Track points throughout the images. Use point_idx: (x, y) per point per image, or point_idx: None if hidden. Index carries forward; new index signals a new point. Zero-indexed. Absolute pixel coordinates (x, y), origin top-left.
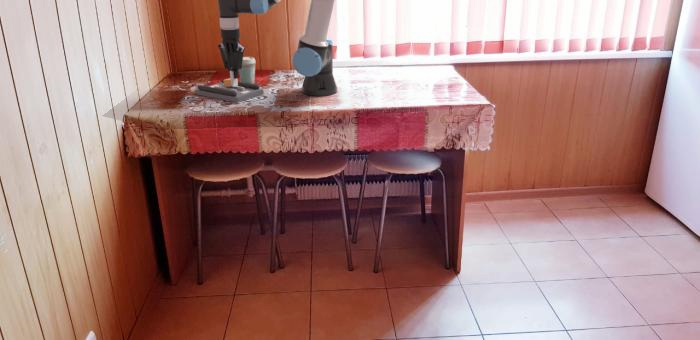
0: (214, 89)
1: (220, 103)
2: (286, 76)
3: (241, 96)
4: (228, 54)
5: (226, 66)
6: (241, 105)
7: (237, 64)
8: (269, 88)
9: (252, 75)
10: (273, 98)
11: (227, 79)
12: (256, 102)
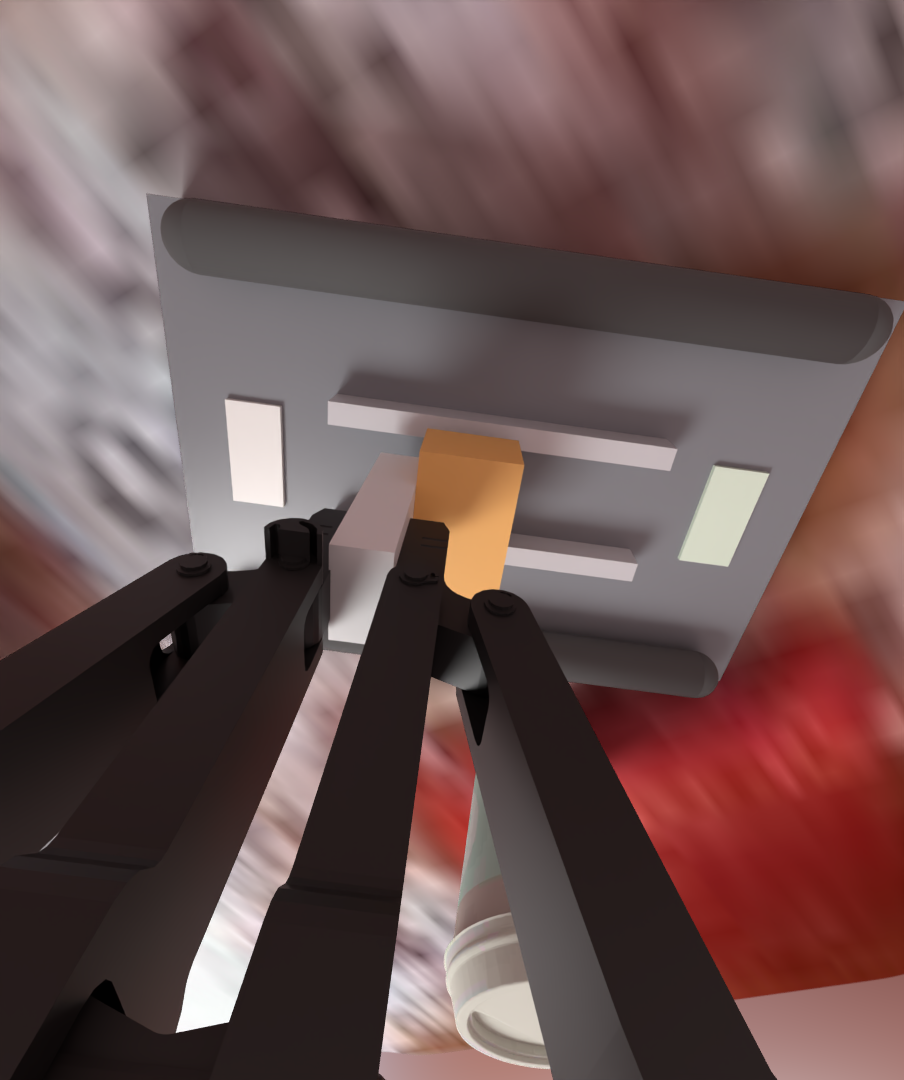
0: (558, 256)
1: (324, 38)
2: (415, 944)
3: (158, 279)
4: (299, 869)
5: (471, 611)
6: (42, 95)
7: (100, 616)
8: (307, 725)
9: (469, 824)
10: (38, 503)
11: (489, 514)
12: (30, 308)
